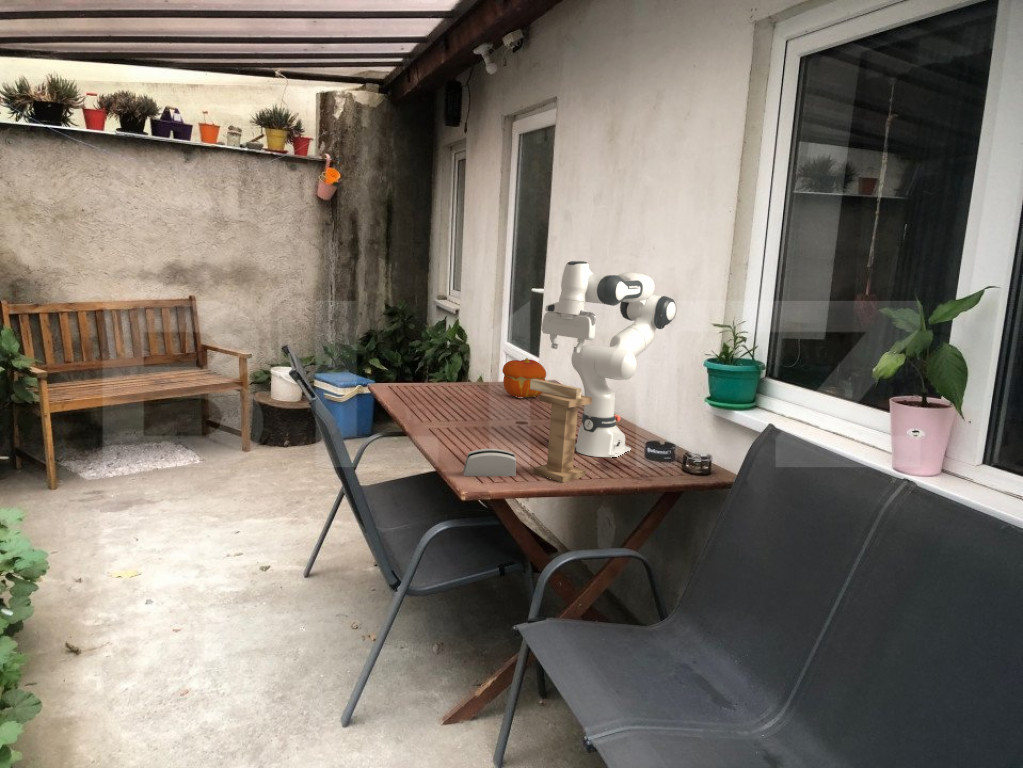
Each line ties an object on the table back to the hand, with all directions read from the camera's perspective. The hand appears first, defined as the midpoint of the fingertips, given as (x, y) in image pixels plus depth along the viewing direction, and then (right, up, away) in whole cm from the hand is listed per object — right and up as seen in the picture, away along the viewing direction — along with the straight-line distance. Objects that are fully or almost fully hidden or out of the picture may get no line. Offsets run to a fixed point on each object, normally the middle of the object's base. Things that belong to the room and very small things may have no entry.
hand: (565, 350), depth 243 cm
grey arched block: (-25, -41, -14) cm, 49 cm away
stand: (-2, -41, -8) cm, 42 cm away
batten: (-4, -14, -9) cm, 18 cm away
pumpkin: (-12, -18, +123) cm, 125 cm away
